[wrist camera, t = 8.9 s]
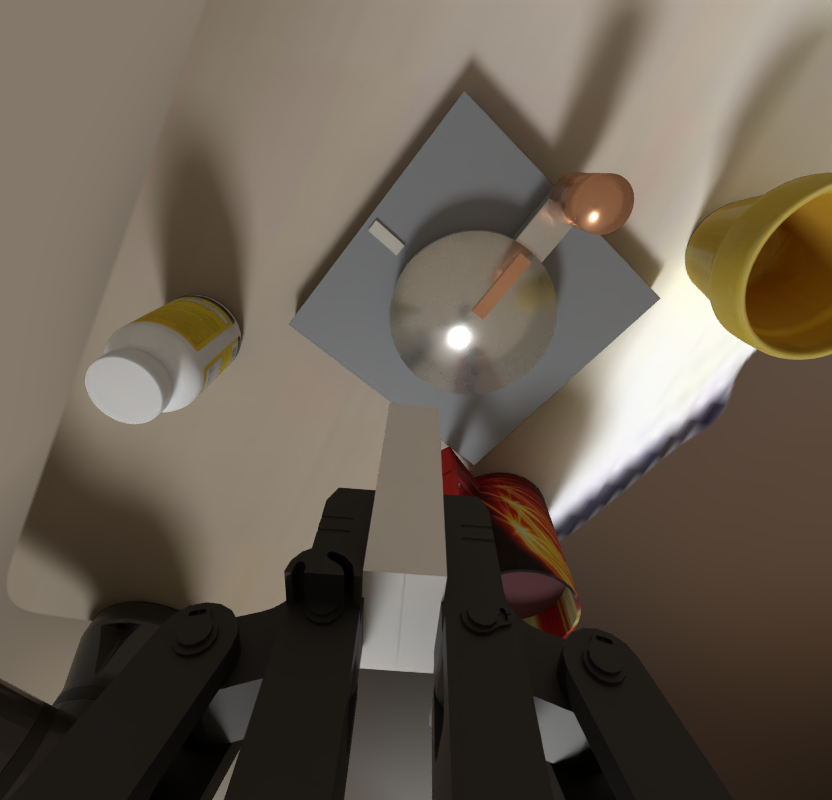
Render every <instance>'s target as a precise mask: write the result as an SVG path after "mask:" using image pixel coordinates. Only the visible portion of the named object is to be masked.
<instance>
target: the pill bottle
mask: <svg viewBox="0 0 832 800" xmlns="http://www.w3.org/2000/svg"><path fill="white" fill-rule="evenodd" d="M240 346H241V332H240V328H239V326H238V323H237V321H236V319H235V318H234V316H233V315H232V314H231V312H230V311H229V310H228V309H227V308H226V307H225V306H223V305H222V304H221V303H219V302H218V301H216V300H214V299H211V298H209V297H206V296H201V295H187V296H183V297H180V298H177V299H175V300H173V301H171V302H169V303H168V304H166V305H164V306H162V307H160V308H158V309H156V310H154V311H152V312H150V313H148V314H146V315H145V316H143V317H141V318H139V319H137V320H135V321H133V322H131V323H129V324H127V325H126V326H124V327H122V328H120V329H119V330H117V331H116V332H115V333H114V334H113V335H112V336H111V337H110V338H109V340H108V342H107V343H106V346H105V349H104V353H103V356H101V357H100V358H98V359H97V360H95V361H94V362H93V363H92V364H91V365H90V366H89V368H88V370H87V372H86V376H85V385H86V389H87V392H88V394H89V397H90V398H91V400H92V401H93V403H94V404H95V405H96V406H97V407H98V408H99V409H100V410H101V411H102V412H103V413H105V414H106V415H108V416H109V417H111V418H113V419H115V420H117V421H120V422H123V423H128V424H141V423H146V422H148V421H150V420H152V419H154V418H155V417H156V416H157V415H159V414H160V413H161V412H171V411H175V410H178V409H181V408H183V407H185V406H187V405H188V404H190V403H191V402H192V401H193V400H195V399H196V398H197V397H198V396H199V395H200V394H201V393H202V392H203V391H204V390H205V389H206V388H207V387H208V386H209V385H210V384H211V383H212V382H213V380H214V379H215V378H216V377H217V376H218V375H219V374H220V373H221V372H222V371H223V370H224V369H225V368H226V367H227V366H228V365H229V364H230V363H231V362H232V361H233V360H234V359H235V358H236V356H237V354H238V352H239V350H240Z"/></svg>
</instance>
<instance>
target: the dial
mask: <svg viewBox="0 0 832 800" xmlns="http://www.w3.org/2000/svg"><path fill="white" fill-rule="evenodd" d="M633 205H634V193H633V189H632V187H631V185H630V183H629V182H628V181H627V180H626V179H625V178H624V177H622V176H620V175H618V174H612V173H571V174H568V175H566V176H564V177H562V178H561V179H559V180H558V181H557V183H556V184H555V185H554V186H553V188H552V189H551V190H550V191H549V193H548V194H547V195H546V196H545V198H544V199H543V200H542V201H541V203H540V204H539V205H538V206H537V207H536V209H535V210H534V211H533V212H532V214H531V215H530V216H529V217H528V219H527V220H526V221H525V222H524V224H523V225H522V226H521V227H520V229H519V230H518V231H517V232H516V234H515V235H514V236H513V237H512V238H511V237H509V236H507V235H505V234H502V233H499V232H497V231H492V230H487V229H475V228H473V229H462V230H457V231H453V232H450V233H447V234H444V235H441V236H439V237H438V238H436V239H434V240H432V241H430V242H429V243H427V244H426V245H425V246H423V247H422V248H421V249H420V250H419V251H417V252H416V253H415V254H414V255H413V257H412V258H411V259H410V260H409V261H408V263H407V264H406V265H405V267H404V269H403V270H402V272H401V274H400V276H399V278H398V280H397V283H396V286H395V289H394V293H393V296H392V300H391V306H390V329H391V334H392V338H393V342H394V344H395V347H396V349H397V351H398V353H399V355H400V357H401V359H402V360H403V361H404V363H405V364H406V365H407V367H408V368H409V369H410V370H411V371H412V372H413V373H414V374H415V375H416V376H417V377H419V378H420V379H421V380H423V381H424V382H426V383H427V384H429V385H431V386H433V387H435V388H437V389H440V390H443V391H446V392H449V393H455V394H463V395H476V394H484V393H490V392H493V391H496V390H500V389H502V388H504V387H507V386H509V385H511V384H512V383H514V382H516V381H518V380H519V379H520V378H522V377H523V376H524V375H526V374H527V373H528V372H529V371H530V370H531V369H532V368H533V367H534V366H535V365H536V364H537V363H538V361H539V360H540V359H541V358H542V356H543V355H544V353H545V351H546V350H547V348H548V346H549V344H550V342H551V339H552V336H553V333H554V330H555V325H556V320H557V298H556V294H555V289H554V286H553V283H552V280H551V278H550V276H549V274H548V272H547V270H546V268H545V267H544V266H543V264H542V262H543V261H544V259H545V258H546V257H547V256H548V255H549V254H550V252H551V251H552V250H553V249H554V248H555V247H556V245H557V244H558V243H559V242H560V241H561V240H562V238H563V237H564V236H565V235H566V234H567V232H568V231H569V230H570V229H571V228H572V227H575V228H578V229H581V230H583V231H586V232H588V233H591V234H594V235H605V234H609V233H612V232H614V231H616V230H617V229H619V228H620V227H621V226H622V225H623V224H624V223H625V222H626V221H627V219H628V218H629V216H630V214H631V212H632V209H633Z"/></svg>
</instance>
